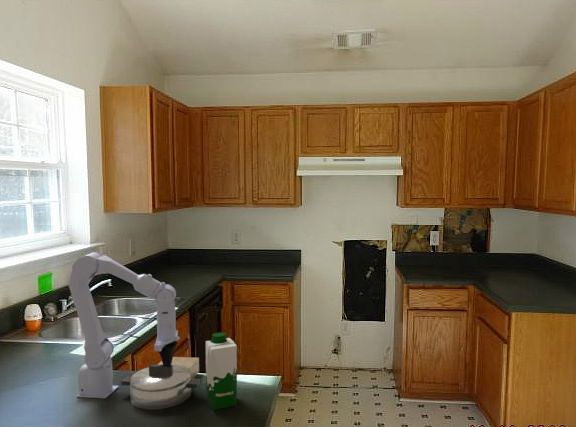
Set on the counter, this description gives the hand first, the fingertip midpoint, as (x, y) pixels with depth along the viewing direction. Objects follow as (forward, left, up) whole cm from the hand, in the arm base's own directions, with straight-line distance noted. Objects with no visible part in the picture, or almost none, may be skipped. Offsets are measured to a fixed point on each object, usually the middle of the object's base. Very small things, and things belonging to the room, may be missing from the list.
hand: (167, 365), depth 137 cm
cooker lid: (0, -5, -2) cm, 5 cm away
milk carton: (+20, -8, -8) cm, 23 cm away
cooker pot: (0, 0, -7) cm, 7 cm away
